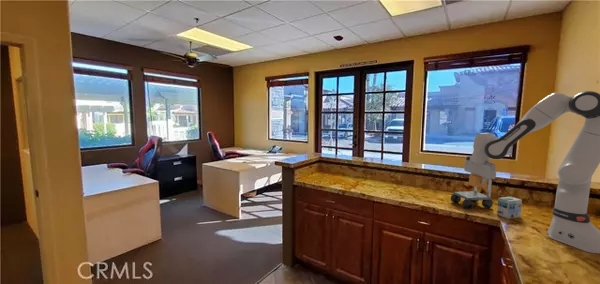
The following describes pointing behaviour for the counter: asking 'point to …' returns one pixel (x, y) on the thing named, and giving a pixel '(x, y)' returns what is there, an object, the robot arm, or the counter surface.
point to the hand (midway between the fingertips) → (478, 182)
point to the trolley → (473, 197)
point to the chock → (477, 181)
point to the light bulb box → (509, 207)
